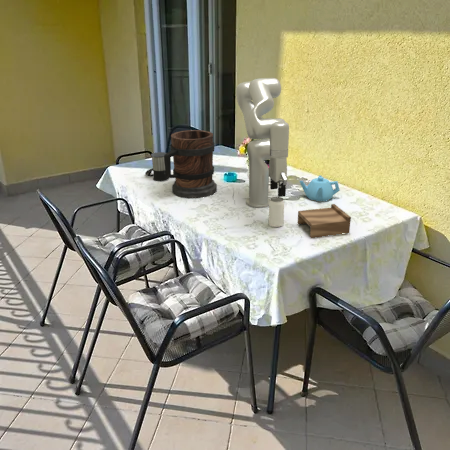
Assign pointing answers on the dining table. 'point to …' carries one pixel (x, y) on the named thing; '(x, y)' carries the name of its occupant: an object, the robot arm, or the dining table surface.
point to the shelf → (325, 221)
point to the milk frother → (158, 167)
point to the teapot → (320, 189)
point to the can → (276, 211)
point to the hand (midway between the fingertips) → (277, 192)
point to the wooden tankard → (191, 164)
